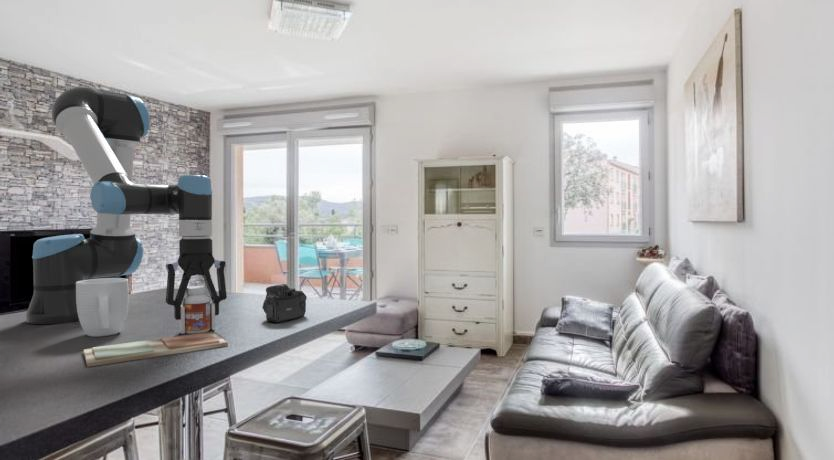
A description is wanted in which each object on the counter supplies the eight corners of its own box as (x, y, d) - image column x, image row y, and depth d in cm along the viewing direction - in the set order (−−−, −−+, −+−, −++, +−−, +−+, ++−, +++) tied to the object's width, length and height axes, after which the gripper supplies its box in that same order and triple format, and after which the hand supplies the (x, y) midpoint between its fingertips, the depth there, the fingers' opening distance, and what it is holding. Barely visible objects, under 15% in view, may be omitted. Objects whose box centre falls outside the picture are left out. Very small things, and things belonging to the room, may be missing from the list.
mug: (132, 338, 119) (131, 283, 119) (76, 345, 113) (75, 286, 113) (127, 326, 132) (127, 276, 131) (76, 332, 125) (75, 279, 125)
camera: (276, 314, 148) (276, 280, 148) (309, 315, 147) (308, 281, 147) (255, 323, 135) (254, 286, 135) (290, 325, 134) (290, 287, 133)
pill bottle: (178, 334, 123) (178, 289, 123) (189, 328, 129) (188, 285, 129) (204, 334, 123) (204, 288, 123) (214, 328, 129) (213, 285, 129)
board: (83, 353, 106) (83, 347, 106) (213, 335, 122) (212, 330, 122) (87, 366, 97) (87, 360, 97) (227, 345, 112) (227, 340, 112)
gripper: (155, 239, 117) (157, 339, 117) (240, 237, 128) (241, 327, 129) (149, 238, 123) (151, 333, 123) (231, 236, 134) (232, 323, 135)
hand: (197, 330), depth 126 cm, fingers open, 6 cm apart
